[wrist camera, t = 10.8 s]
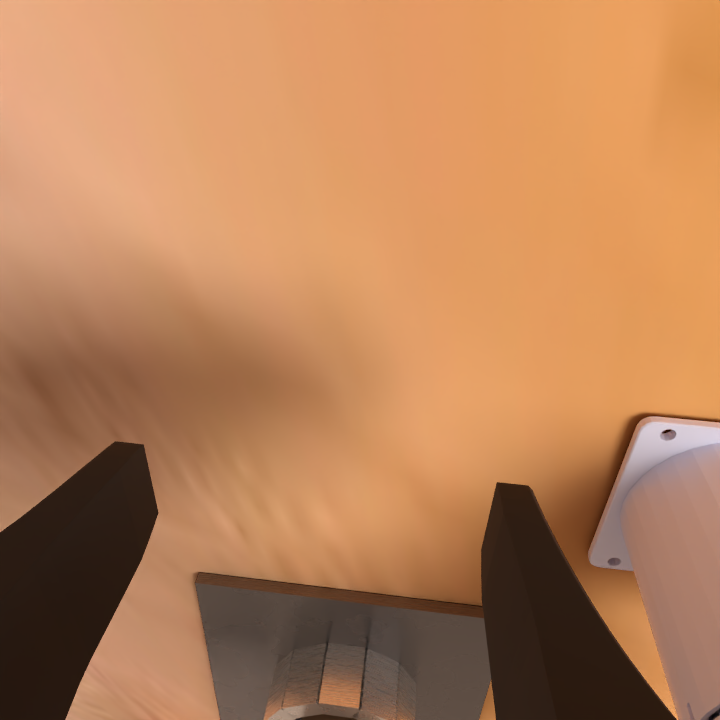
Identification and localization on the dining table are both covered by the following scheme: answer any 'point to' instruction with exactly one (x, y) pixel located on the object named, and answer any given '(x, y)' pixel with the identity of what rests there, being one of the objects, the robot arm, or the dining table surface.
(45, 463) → the dining table surface
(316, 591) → the socket
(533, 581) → the robot arm
